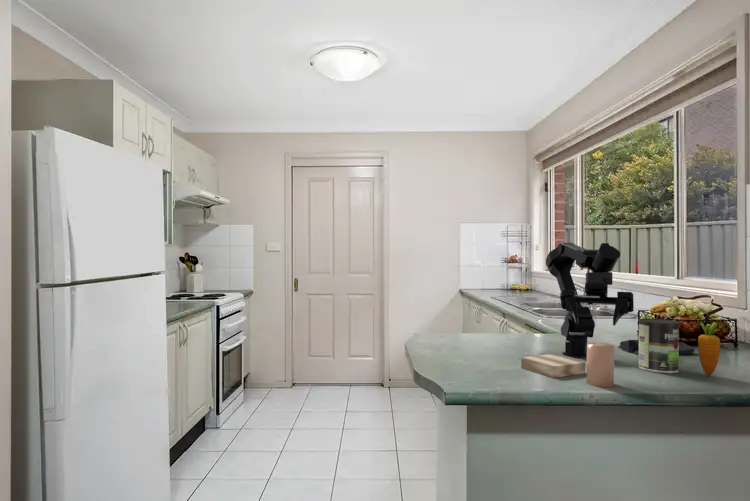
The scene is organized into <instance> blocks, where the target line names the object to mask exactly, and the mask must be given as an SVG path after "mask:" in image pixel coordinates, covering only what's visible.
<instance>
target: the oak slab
mask: <svg viewBox="0 0 750 501" xmlns="http://www.w3.org/2000/svg"><path fill="white" fill-rule="evenodd" d="M520 361H521V362H520V364H521V365H520V368H521V369H524V370H527V371H530V372H533V373H537V374H540V375H542V376H546V377H548V378H553V379H554V378H562V377H568V376H569V377H570V376H576V375H577V376H578V375H582V374H586V362H585V361H580V360H576V359H573V358H569V357H565V356H561V355H557V354H553V353H550V354H539V355H533V356H530V355H529V356H523V357H522V356H521V359H520Z"/></svg>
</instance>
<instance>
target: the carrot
mask: <svg viewBox="0 0 750 501" xmlns="http://www.w3.org/2000/svg"><path fill="white" fill-rule="evenodd" d="M699 325H700V326H701V328H702V330H703V331H704V334H700V335H699V336H698V339H697V347H698V355H699V362H700V365H701V368H702V370H703V372H704V374H705V375H706V376H707V377H711V376H712V375H713V373H714V372H715V370H716V369H717V366H718V364H719V363H718V362H719V358H720V351H721V350H720V349H721V339H720V338H719V337H718V336H716V335H715V333H716V332H718V329H716V327H717V325H718V324H717V322H715V321H714V322H712V324H709V323H707V324H706V326H705V324H704V322H700V323H699Z"/></svg>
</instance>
